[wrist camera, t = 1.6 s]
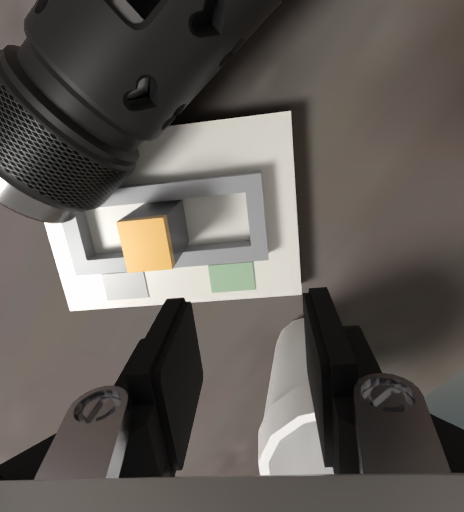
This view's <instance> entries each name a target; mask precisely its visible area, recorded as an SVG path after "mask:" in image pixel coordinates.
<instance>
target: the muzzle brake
mask: <svg viewBox="0 0 464 512" xmlns="http://www.w3.org/2000/svg"><path fill="white" fill-rule="evenodd" d="M282 1H283V0H37V2H36V3H35V5H34V6H33V8H32V9H31V11H30V12H29V13H28V15H27V16H26V18H25V21H24V30H25V34H26V37H27V38H26V40H25V41H24V42H23V44H22V45H21V47H19V46H15V45H7V46H6V47H5V48H4V49H3V50H0V204H1V205H3V206H5V207H7V208H8V209H10V210H12V211H14V212H16V213H18V214H21V215H23V216H26V217H28V218H31V219H34V220H38V221H41V222H47V223H64V222H68V221H71V220H72V219H73V218H75V217H76V216H77V215H78V214H79V213H80V212H84V211H88V210H92V209H96V208H98V207H100V206H101V205H102V204H104V203H105V201H106V200H107V199H108V198H109V197H110V196H111V195H112V194H113V193H114V192H115V191H116V189H117V188H118V187H119V186H120V185H121V184H122V183H123V182H124V181H125V180H126V179H127V178H128V176H129V175H130V174H131V173H132V172H133V171H134V170H135V168H136V165H137V163H136V162H137V160H138V159H139V150H138V147H139V146H140V144H141V143H142V142H143V141H152V140H154V139H157V138H158V137H159V136H160V135H161V134H162V133H163V132H164V130H165V129H166V128H167V127H168V126H169V125H170V124H171V123H172V122H173V121H174V120H175V118H176V117H177V116H178V115H179V114H180V113H181V112H182V111H183V110H184V109H185V108H186V106H187V105H188V104H189V103H190V102H191V101H192V100H193V99H194V98H195V97H196V95H197V94H198V93H199V92H200V91H201V90H202V89H203V88H204V87H205V86H206V85H207V83H208V82H209V81H210V80H211V79H212V78H213V77H214V76H215V75H216V74H217V73H218V71H219V70H220V69H221V68H222V67H223V66H224V65H225V64H226V63H227V62H228V60H229V59H230V58H231V57H232V55H234V54H235V53H236V52H237V51H238V50H239V48H240V47H241V46H242V45H243V44H244V43H245V42H246V41H247V40H248V39H249V37H250V36H251V35H252V34H253V33H254V32H255V31H256V30H257V29H258V28H259V27H260V25H261V24H262V23H263V22H264V21H265V20H266V19H267V18H268V17H269V16H270V15H271V13H272V12H273V11H274V10H275V9H276V8H277V7H278V6H279V5H280V4H281V2H282Z"/></svg>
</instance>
